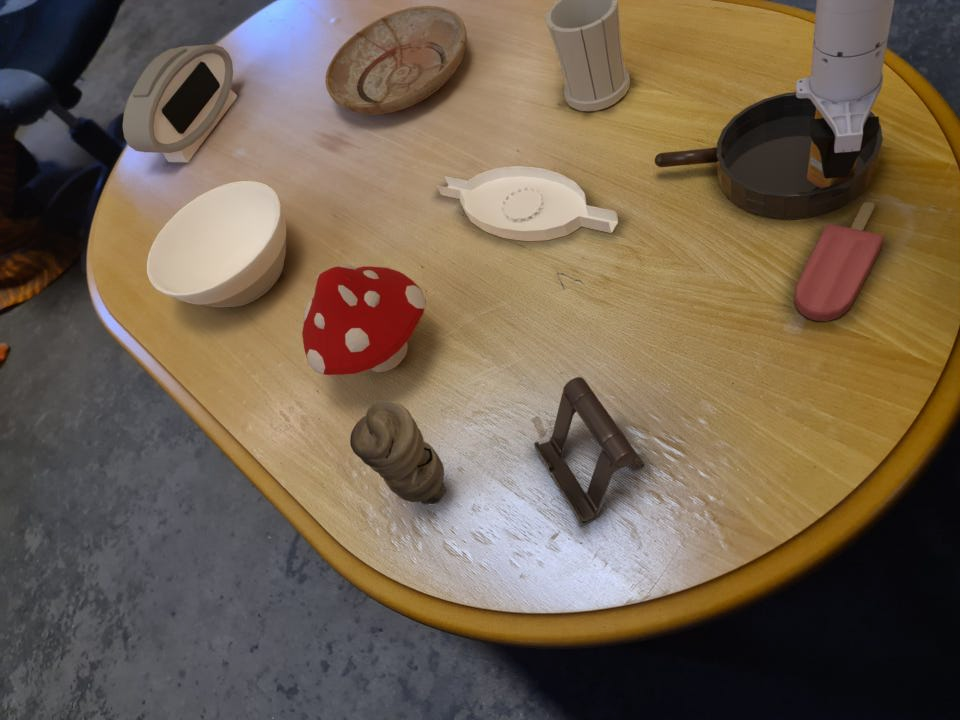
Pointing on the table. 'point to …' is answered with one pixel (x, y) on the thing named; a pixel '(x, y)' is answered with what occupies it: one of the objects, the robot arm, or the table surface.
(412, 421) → the brown twisted statue
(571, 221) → the shallow oval tray
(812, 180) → the supplement box
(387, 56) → the ceramic bowl
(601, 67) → the cup
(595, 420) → the tablet stand
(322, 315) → the decorative mushroom
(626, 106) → the table surface
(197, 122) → the alarm clock
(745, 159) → the pan
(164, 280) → the bowl
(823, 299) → the popsicle
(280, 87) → the table surface
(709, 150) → the pan handle
